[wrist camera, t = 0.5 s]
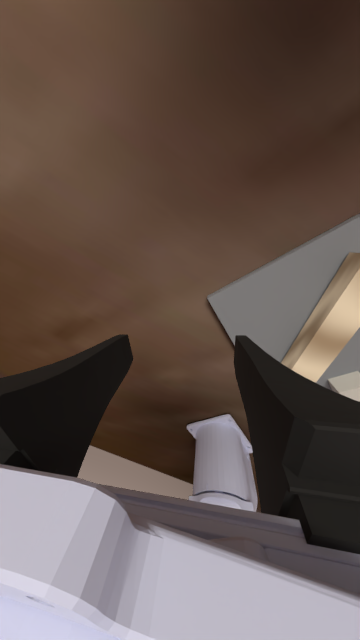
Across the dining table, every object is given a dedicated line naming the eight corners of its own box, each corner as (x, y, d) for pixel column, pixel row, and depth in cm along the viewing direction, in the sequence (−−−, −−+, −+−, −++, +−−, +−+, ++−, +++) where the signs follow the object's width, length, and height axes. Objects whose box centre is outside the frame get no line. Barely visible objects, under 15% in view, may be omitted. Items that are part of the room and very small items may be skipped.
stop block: (361, 383, 20) (376, 397, 18) (332, 390, 21) (344, 404, 19) (357, 370, 19) (372, 384, 17) (327, 379, 20) (339, 392, 18)
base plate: (508, 352, 17) (525, 358, 16) (273, 410, 25) (276, 417, 24) (508, 132, 11) (534, 122, 11) (207, 295, 19) (207, 298, 18)
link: (290, 395, 22) (302, 417, 19) (263, 387, 22) (270, 408, 19) (388, 261, 14) (430, 265, 12) (345, 251, 15) (377, 253, 12)
